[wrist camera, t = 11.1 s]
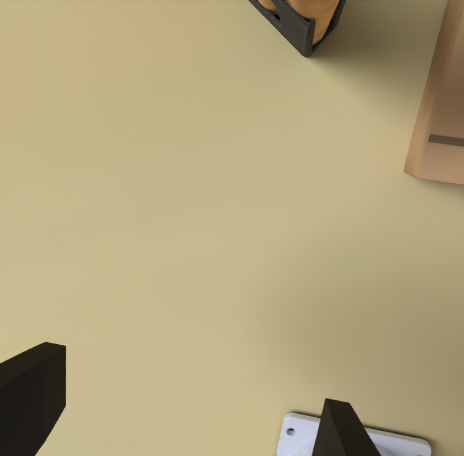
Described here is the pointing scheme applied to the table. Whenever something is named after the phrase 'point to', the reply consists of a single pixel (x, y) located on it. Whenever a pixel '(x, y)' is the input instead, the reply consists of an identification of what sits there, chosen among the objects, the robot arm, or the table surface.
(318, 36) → the ammunition clip
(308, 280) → the table surface
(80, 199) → the table surface
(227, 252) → the table surface
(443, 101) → the board
